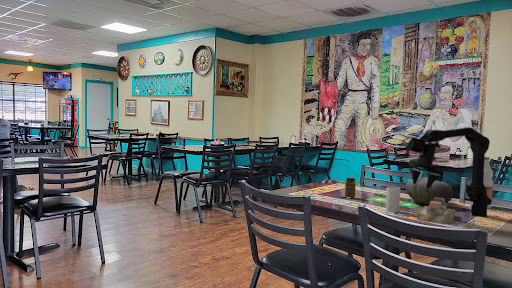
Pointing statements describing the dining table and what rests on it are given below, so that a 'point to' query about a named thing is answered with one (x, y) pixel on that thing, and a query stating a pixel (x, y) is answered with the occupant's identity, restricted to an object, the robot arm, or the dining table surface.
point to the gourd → (428, 191)
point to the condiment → (350, 187)
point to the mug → (392, 199)
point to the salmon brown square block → (435, 205)
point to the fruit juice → (488, 179)
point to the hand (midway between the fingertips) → (420, 185)
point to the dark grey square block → (439, 200)
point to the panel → (436, 214)
